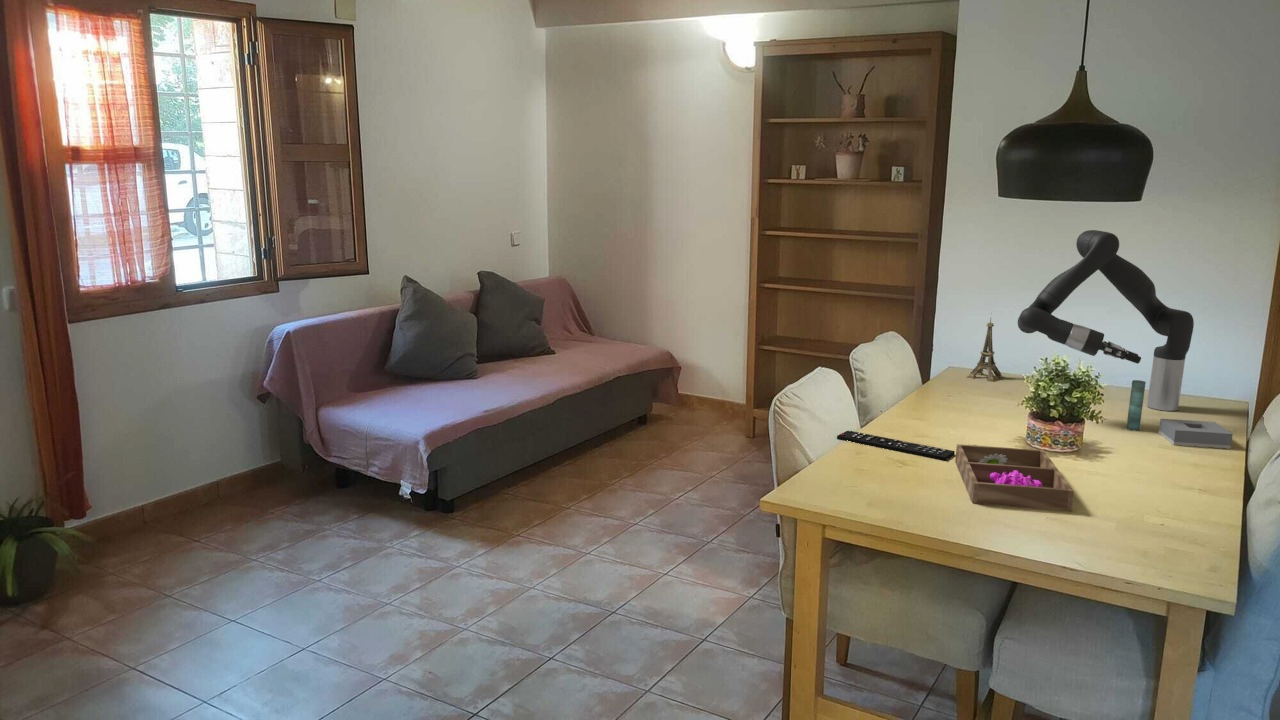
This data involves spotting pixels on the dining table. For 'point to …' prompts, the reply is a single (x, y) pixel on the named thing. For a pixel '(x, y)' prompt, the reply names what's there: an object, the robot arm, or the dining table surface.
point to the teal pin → (1135, 405)
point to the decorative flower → (994, 459)
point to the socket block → (1195, 433)
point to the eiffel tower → (990, 364)
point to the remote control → (897, 445)
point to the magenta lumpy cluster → (1014, 479)
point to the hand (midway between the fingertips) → (1138, 359)
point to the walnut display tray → (1024, 461)
